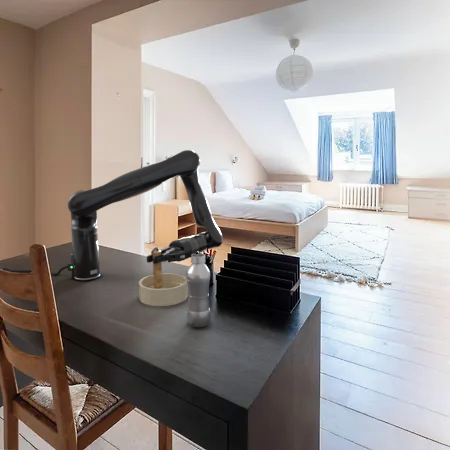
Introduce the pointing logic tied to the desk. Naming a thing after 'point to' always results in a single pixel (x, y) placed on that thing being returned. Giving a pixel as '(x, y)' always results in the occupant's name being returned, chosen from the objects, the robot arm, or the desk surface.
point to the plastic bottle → (198, 292)
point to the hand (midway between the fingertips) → (150, 260)
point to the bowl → (164, 290)
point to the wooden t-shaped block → (157, 273)
